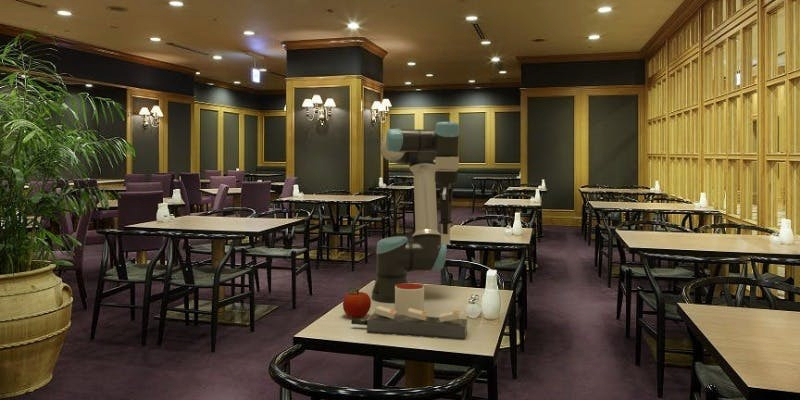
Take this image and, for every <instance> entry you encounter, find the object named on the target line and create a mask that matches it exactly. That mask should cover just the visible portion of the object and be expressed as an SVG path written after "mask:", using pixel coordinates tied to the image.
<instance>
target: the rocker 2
mask: <svg viewBox="0 0 800 400" xmlns="http://www.w3.org/2000/svg"><path fill="white" fill-rule="evenodd" d="M407 316H409V317H413V318H417V319H421V320H425V321H426V319H427V317H429V312H427V311H425V310H424V311H420V310H416V309H412V308H409V310H408V311H407Z"/></svg>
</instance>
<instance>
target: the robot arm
mask: <svg viewBox="0 0 800 400" xmlns="http://www.w3.org/2000/svg"><path fill="white" fill-rule="evenodd" d="M460 134H461V133H460V125H459V123H458V122H456V121H438V122H436V123H435V129H430V128H429V129H418V128H417V129H414V128H413V129H411V128H390V129H387V131H386V136H385V138H384V139H383V140H382V141H381V144H380V146H379V148H380V150H379V151H380V154H381V155H382V157H383V158H384V159H385V160H386V161H388V162H390V163H393V164H397V165H404V166H405V165H408V166H409V171H410V172H412V173H413V193H414V222H415V223H414V224H415V225H414V226H415V232H414V233H413V234H412V236H411V240H409V239H408V237H407V236H399V235H398V236H389V237H384V238H382V239H380V240H378V241H377V244H376V251H375V252H376V278H375V281H374V285H373V287H372V290H371V299H372V300H375V301H377V302H382V303H395V286H396V285H398V284H404V283H409V281H408V273H407V272H409V271H410V272H412V271H417V272H418V271H419V272H421V271H422V272H423V271H430V272H432V271H440V270H442V269H443V268H444V266H445V263H446V260H447V259H446V258H447V251H448V249H447V248H448V247H447V246H448V245H451V224H453V220H452V217H451V216H452V202H453V194H454V189H453V188H452V184H457V183H458V182H459V171H457V170H459V169H460V167H459V166H460V165H459V161H460V157H459V155H460V154H459V152H460V151H459V150H460V149H459V148H460ZM436 184H441V188H439V203H440V205H439V206H440V208H439V209H440V221H439V222H438V212H437V211H438V210H437V189H436V186H437V185H436ZM438 224H439V225H440V224H441V225H440V232H439V231H438Z"/></svg>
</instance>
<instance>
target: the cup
mask: <svg viewBox="0 0 800 400" xmlns="http://www.w3.org/2000/svg"><path fill="white" fill-rule="evenodd" d="M409 308H412V309H416V310H420V311H424V312H425V286H424V285H423V284H419V283H411V282H410V283H409V282H408V283H404V284H398V285H396V286H395V302H394V310H395V311H397V313H396V315H407V311H408V310H409Z"/></svg>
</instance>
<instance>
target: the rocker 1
mask: <svg viewBox="0 0 800 400" xmlns="http://www.w3.org/2000/svg"><path fill="white" fill-rule="evenodd" d="M374 313H376V314H379V315H382V316H385V317H388V318H392V319H394V317H395V316H396V313H397V311H395V309H391V308H388V307H385V306H382V305H378V306H377V307H376V308H375V312H374Z"/></svg>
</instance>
